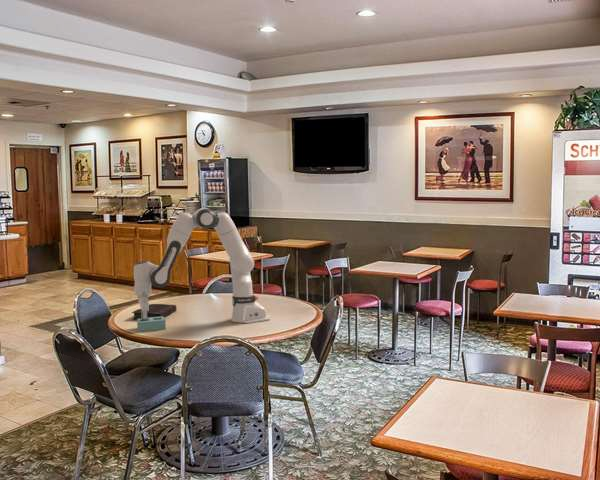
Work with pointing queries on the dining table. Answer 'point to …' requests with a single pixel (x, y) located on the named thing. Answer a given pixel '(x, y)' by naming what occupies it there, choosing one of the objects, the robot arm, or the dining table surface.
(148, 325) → the hole block
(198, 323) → the dining table surface
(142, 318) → the peg
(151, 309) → the diary
